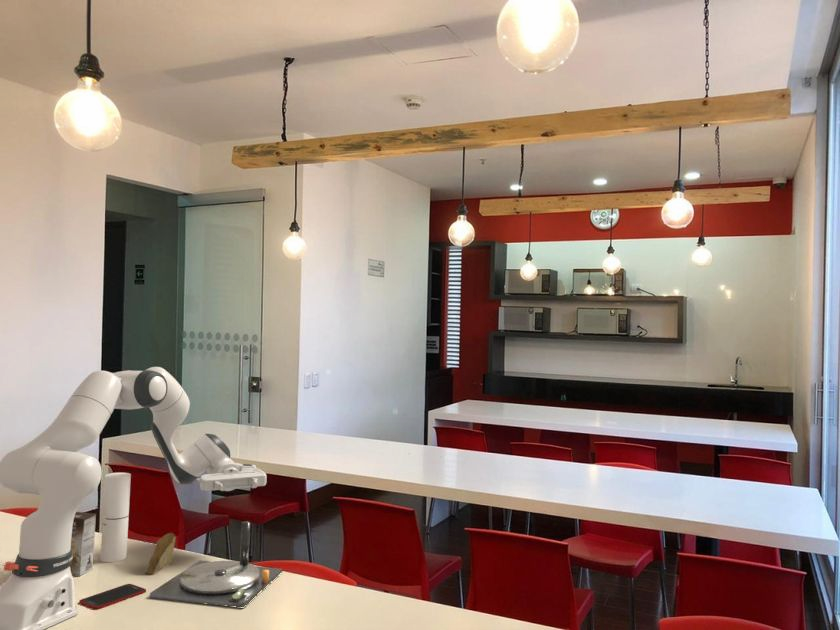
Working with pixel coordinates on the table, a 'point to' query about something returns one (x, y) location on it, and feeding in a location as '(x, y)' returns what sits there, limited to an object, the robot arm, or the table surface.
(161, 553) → the rock
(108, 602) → the cell phone
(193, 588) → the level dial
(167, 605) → the table surface
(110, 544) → the cylindrical container
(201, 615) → the table surface
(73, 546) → the coffee box
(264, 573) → the level mark
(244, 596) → the grey square base plate
